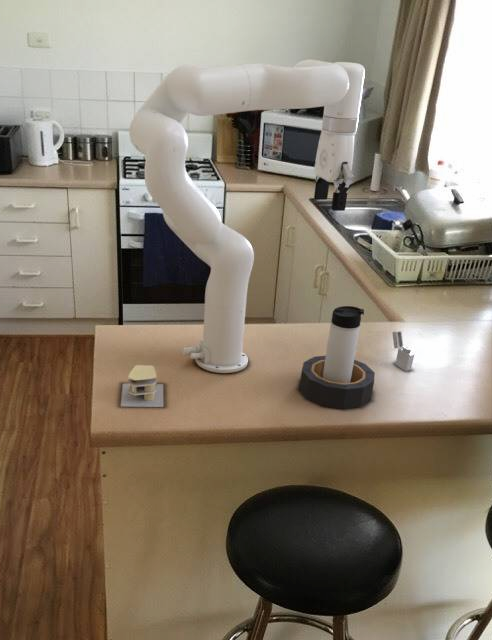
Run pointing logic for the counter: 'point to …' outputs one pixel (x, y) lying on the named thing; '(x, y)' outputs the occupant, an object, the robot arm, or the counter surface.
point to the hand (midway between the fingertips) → (329, 204)
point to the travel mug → (342, 344)
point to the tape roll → (336, 385)
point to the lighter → (402, 352)
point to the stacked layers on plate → (142, 388)
